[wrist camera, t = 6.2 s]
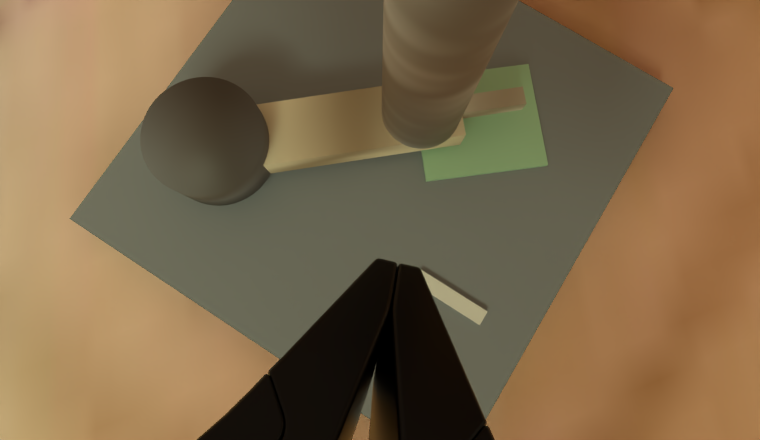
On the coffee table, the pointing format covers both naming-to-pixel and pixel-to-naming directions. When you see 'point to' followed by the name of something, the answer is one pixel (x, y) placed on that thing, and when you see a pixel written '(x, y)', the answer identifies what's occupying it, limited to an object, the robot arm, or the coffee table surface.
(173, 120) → the lever
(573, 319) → the coffee table surface
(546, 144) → the plate
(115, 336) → the coffee table surface
